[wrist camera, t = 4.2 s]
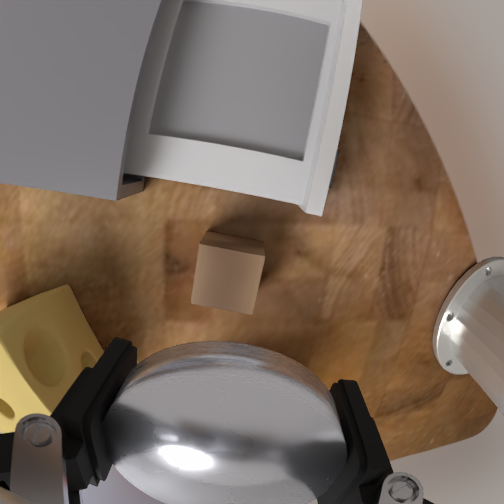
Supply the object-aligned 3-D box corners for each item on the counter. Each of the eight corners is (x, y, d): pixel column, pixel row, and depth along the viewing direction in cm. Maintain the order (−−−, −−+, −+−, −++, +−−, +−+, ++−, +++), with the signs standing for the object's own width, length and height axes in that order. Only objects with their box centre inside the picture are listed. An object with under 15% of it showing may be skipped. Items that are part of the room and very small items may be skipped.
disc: (370, 361, 8) (389, 399, 6) (299, 490, 9) (302, 523, 8) (117, 314, 7) (89, 348, 6) (126, 461, 9) (114, 492, 8)
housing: (197, -30, 16) (187, -64, 12) (143, 191, 21) (116, 200, 17) (36, -12, 15) (8, -30, 10) (-10, 170, 20) (-47, 176, 15)
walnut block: (262, 241, 23) (265, 256, 19) (251, 292, 24) (252, 314, 20) (206, 230, 22) (199, 244, 19) (198, 282, 23) (190, 303, 20)
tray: (356, 6, 17) (369, -10, 14) (317, 209, 21) (327, 217, 18) (145, -25, 16) (135, -42, 13) (94, 170, 20) (75, 172, 17)
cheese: (124, 375, 26) (86, 454, 17) (50, 386, 27) (8, 447, 17) (70, 274, 23) (-2, 332, 14) (1, 303, 24) (-60, 352, 15)
